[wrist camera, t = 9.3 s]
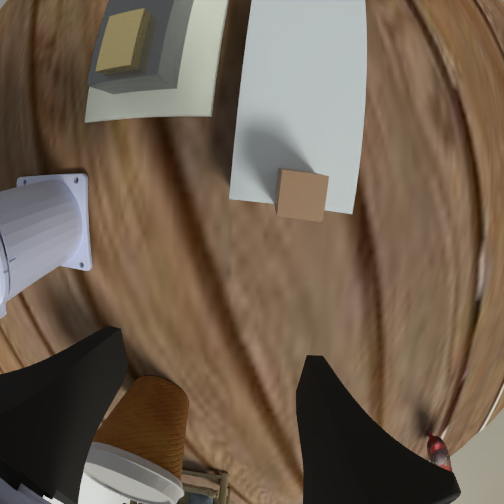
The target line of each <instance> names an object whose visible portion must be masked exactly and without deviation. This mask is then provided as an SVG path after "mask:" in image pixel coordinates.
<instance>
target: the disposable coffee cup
mask: <svg viewBox="0 0 504 504" xmlns="http://www.w3.org/2000/svg"><path fill="white" fill-rule="evenodd" d="M188 407H189V400H188V397H187V396H186V394H185V393H184V392H183V390H181V389H180V388H179V387H178V386H176V385H175V384H173V383H172V382H170V381H168V380H165V379H163V378H160V377H156V376H142V377H139V378H137V379H136V380H135V381H134V383H133V384H132V385H131V387H130V388H129V390H128V391H127V392H126V393H125V395H124V396H123V397H122V399H121V400H120V401H119V403H118V404H117V405H116V407H115V408H114V409H113V411H112V412H111V413H110V415H109V416H108V417H107V419H106V420H105V421H104V423H103V424H102V425H101V427H100V428H99V429H98V431H97V432H96V433H95V436H94V438H93V441H92V444H91V447H90V450H89V453H88V456H87V459H86V463H85V466H84V470H83V472H84V473H85V474H86V475H87V476H89V477H90V478H91V479H93V480H94V481H95V482H97V483H99V484H100V485H102V486H103V487H105V488H107V489H109V490H110V491H112V492H114V493H117V494H119V495H121V496H124V497H126V498H128V499H131V500H134V501H137V502H140V503H143V504H176V503H177V502H178V500H179V498H181V497H183V496H184V490H183V485H182V483H181V474H182V464H183V454H184V443H185V434H186V425H187V415H188Z"/></svg>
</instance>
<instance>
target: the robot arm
mask: <svg viewBox="0 0 504 504" xmlns="http://www.w3.org/2000/svg"><path fill="white" fill-rule="evenodd" d="M77 177H78V182H77ZM82 263H83V264H84V266H83V265H82ZM58 266H64V267H69V268H74V269H79V270H85V271H89V270H90V269H92V256H91V245H90V233H89V215H88V177H87V175H86V174H84V173H76V174H55V175H39V176H27V177H19V178H18V179H17V187H16V188H12V189H8V190H4V191H0V319H1V318H2V317H3V316H4V315H6V314H7V312H6V302H7V301H8V300H10V299H11V298H13V297H14V296H15V295H17V294H18V293H20V292H21V291H22V290H24V289H25V288H27V287H28V286H30V285H31V284H32V283H34V282H35V281H37V280H38V279H40V278H41V277H43V276H44V275H46V274H47V273H49V272H50V271H52V270H54V269H55V268H57V267H58ZM127 369H128V362H127V357H126V353H125V348H124V343H123V338H122V333H121V329H120V328H116V327H112V326H106V327H104V328H102V329H100V330H99V331H97V332H95V333H93V334H92V335H90V336H88V337H86V338H85V339H83V340H81V341H79V342H78V343H76V344H74V345H72V346H71V347H69V348H67V349H65V350H63V351H61V352H59V353H57V354H55V355H53V356H51V357H49V358H47V359H45V360H43V361H41V362H38V363H36V364H33V365H31V366H28V367H25V368H22V369H19V370H15V371H12V372H8V373H5V374H0V504H51V503H50V502H48V501H46V500H45V499H43V498H42V497H43V495H45V496H46V497H48V498H50V499H52V498H53V497H54V498H55V499H57V500H59V501H61V502H62V503H64V504H78V496H79V490H80V484H81V479H82V475H83V470H84V466H85V463H86V459H87V456H88V453H89V450H90V447H91V444H92V441H93V438H94V436H95V433H96V431H97V429H98V427H99V424H100V423H101V421H102V419H103V417H104V415H105V414H106V412H107V410H108V408H109V406H110V405H111V403H112V401H113V399H114V397H115V396H116V394H117V392H118V390H119V388H120V386H121V384H122V382H123V379H124V377H125V374H126V372H127ZM296 414H297V422H298V429H299V436H300V444H301V451H302V458H303V470H304V489H303V504H450V503H451V502H453V501H454V500H456V499H457V498H458V497H459V496H460V494H461V491H460V488H459V485H458V483H457V480H456V477H455V475H454V473H453V472H451V471H448V470H446V469H444V468H442V467H439V466H437V465H435V464H433V463H431V462H429V461H427V460H425V459H423V458H422V457H420V456H418V455H417V454H415V453H413V452H412V451H410V450H409V449H407V448H406V447H405V446H403V445H402V444H401V443H399V442H398V441H396V440H395V439H394V438H393V437H391V436H390V435H389V434H388V433H387V432H385V431H384V430H383V429H382V428H381V427H380V426H379V425H378V424H377V423H376V422H375V421H373V420H372V419H371V417H370V416H369V415H368V414H367V413H366V412H365V411H364V410H363V409H362V408H361V406H360V405H359V404H358V403H357V402H356V401H355V399H354V398H353V397H352V396H351V394H350V393H349V392H348V390H347V389H346V388H345V387H344V385H343V384H342V382H341V381H340V380H339V378H338V377H337V375H336V374H335V373H334V371H333V370H332V368H331V367H330V365H329V364H328V362H327V361H326V360H325V358H324V357H323V356H313V355H307V357H306V360H305V364H304V367H303V370H302V374H301V377H300V381H299V384H298V387H297V390H296Z"/></svg>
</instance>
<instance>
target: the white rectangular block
mask: <svg viewBox="0 0 504 504" xmlns="http://www.w3.org/2000/svg"><path fill="white" fill-rule="evenodd" d="M366 72H367V31H366V8H365V0H252V2H251V9H250V16H249V23H248V30H247V37H246V45H245V53H244V60H243V68H242V77H241V85H240V94H239V103H238V112H237V121H236V131H235V141H234V151H233V161H232V172H231V183H230V195H229V199H234V200H244V201H254V202H264V203H273V204H275V209H276V215H277V216H278V217H287V218H295V219H303V220H311V221H319V222H323V216H324V210H327V211H334V212H341V213H348V214H352V212H353V206H354V200H355V193H356V186H357V179H358V172H359V164H360V156H361V147H362V137H363V126H364V113H365V97H366Z"/></svg>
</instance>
